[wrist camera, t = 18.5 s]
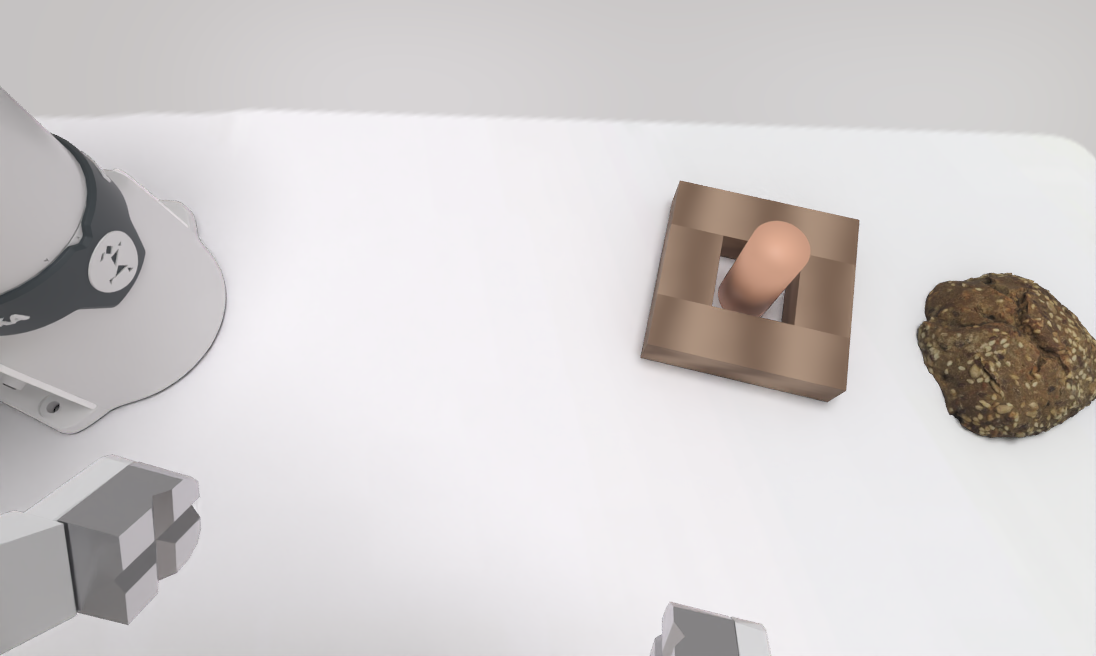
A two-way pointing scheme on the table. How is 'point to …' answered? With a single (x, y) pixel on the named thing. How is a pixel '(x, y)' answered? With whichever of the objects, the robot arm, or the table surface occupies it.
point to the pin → (764, 268)
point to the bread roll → (1007, 355)
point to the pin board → (740, 339)
